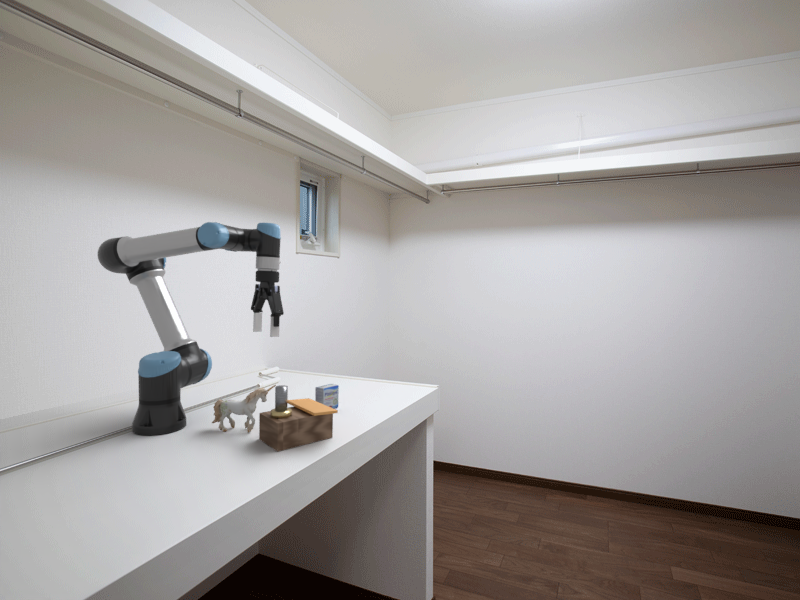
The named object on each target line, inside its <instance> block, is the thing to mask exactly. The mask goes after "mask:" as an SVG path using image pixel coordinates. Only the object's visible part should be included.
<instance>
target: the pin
mask: <svg viewBox="0 0 800 600" xmlns="http://www.w3.org/2000/svg"><path fill="white" fill-rule="evenodd" d="M274 388H275V389H274V391H275V392H274V393H275V394H274V408H272V409H271V410H270V411H271V417H272V418H276V419H282V418H288V417H290V416H292V409H290V408H289V407H288V403H287V401H288V400H289V398H288V397H289V396H288V395H289V394H288V390H289V389H288V385H285V384H284V385H283V384H282V385H276V386H275V387H274Z"/></svg>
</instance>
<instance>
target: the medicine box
mask: <svg viewBox="0 0 800 600" xmlns="http://www.w3.org/2000/svg"><path fill="white" fill-rule="evenodd" d="M339 387H340V386H339V384H335V383H329V384H328V383H327V384H324V385H319V386H316V387H315V396H314V397H315V399H314V401H317V402H319V403H321V404H324V405H326V406H328V407H331V408H333V409H337V408H339V393H340V391H339Z"/></svg>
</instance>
